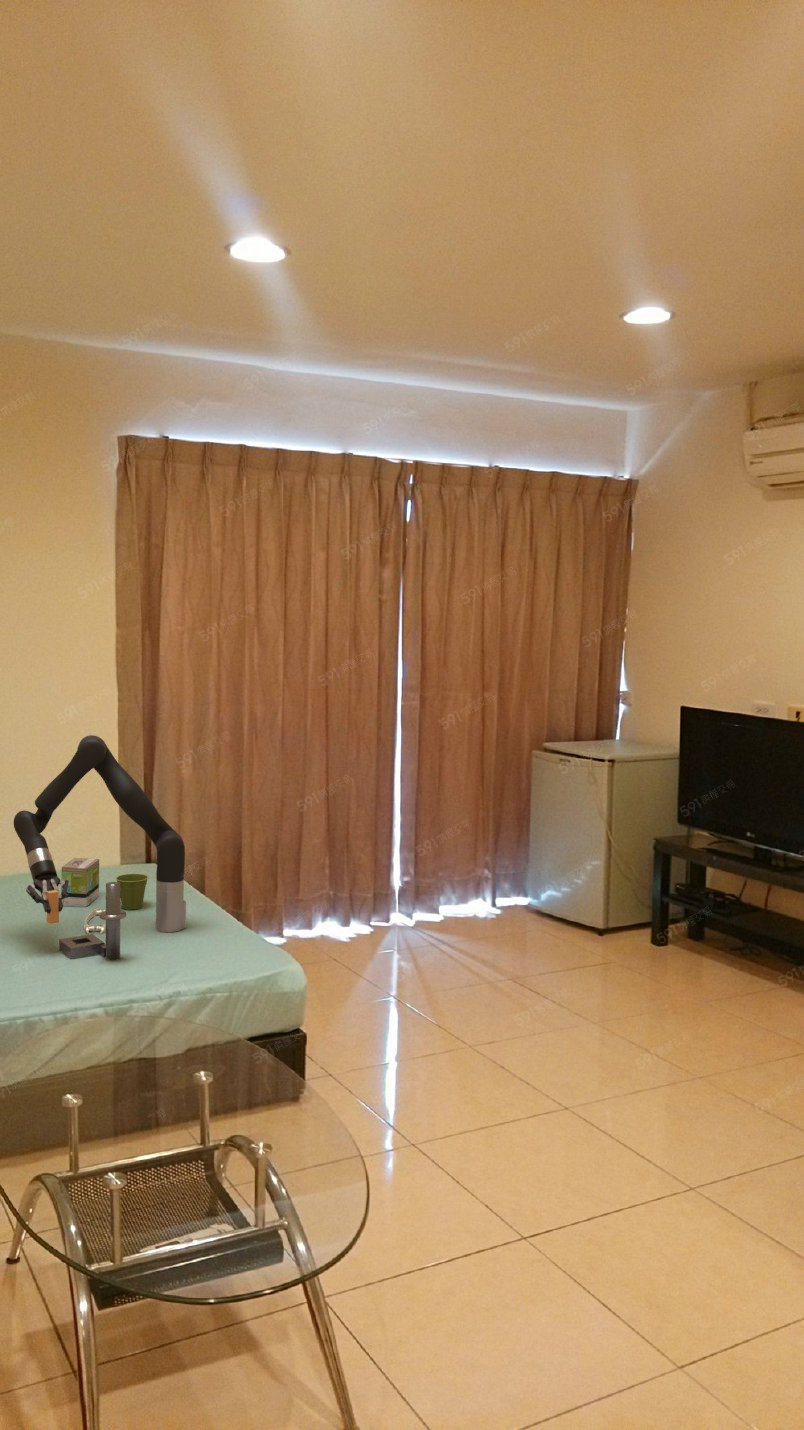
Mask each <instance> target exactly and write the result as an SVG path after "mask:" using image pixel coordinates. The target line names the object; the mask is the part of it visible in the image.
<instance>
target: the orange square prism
mask: <svg viewBox="0 0 804 1430" xmlns="http://www.w3.org/2000/svg"><path fill="white" fill-rule="evenodd" d="M59 893H60V891H59V892H58V891H57V890H52V891H46V894H47V900H48V902H49V904H50V908H51V912H50V913H49V914H47V913H46V922H47V924H49V925H53V924H59V923H60V912H59Z"/></svg>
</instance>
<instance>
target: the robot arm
mask: <svg viewBox="0 0 804 1430" xmlns="http://www.w3.org/2000/svg"><path fill="white" fill-rule="evenodd" d="M92 770H94V771H95V772H96V773H97V774H98V775H99V776H100V778H101V779H102V780H103V782H104V784H105V786H106V788H107V789H108V791H109V793H110V795H111V797H112V798H113V799H114V800H115V802H116V803H117V804H118V806H119V807H120V808H121V810H122V811H123V812H124V813H125V814H126V815H127V816H128V817H129V818H130V819H131V820H132V821H133V822H134V823H136V824H137V825H138V826H139V827H140V828H141V829H143V830H144V832H145V833H146V834H147V835H148V837H149V839H150V840H151V842H153V845H154V846H155V848H156V874H155V875H156V876H155V877H156V879H155V880H156V885H155V888H156V889H155V890H156V891H155V892H156V895H155V897H156V898H155V899H156V902H155V904H156V905H155V929H156V931H158V932H163V933H173V932H179V931H182V930H184V929H186V928H187V927H186V926H187V925H186V924H187V923H186V922H187V921H186V919H187V915H186V914H187V901H186V900H185V899H184V893H185V892H184V890H185V889H184V887H185V886H184V885H185V882H184V881H185V880H184V879H185V869H186V868H185V864H186V862H185V861H186V855H185V854H186V848H185V843H184V840H183V838H182V836H181V835H180V834H179V833H178V832H177V831H176V830H175V829H174V828H173V827H172V826H171V825H170V824H169V823H168V822H167V821H166V820H165V819H164V818H163V816H161V814H160V813H159V811H158V809H157V807H156V806H155V805H154V803H153V802H152V800H151V799H150V798H149V796H148V795H147V794H146V792H145V791H144V790H143V789H142V788H141V786H140V785H139V784H138V782H136V780H135V779H134V778H133V777H132V776H131V775H130V774H129V773H128V772H127V770H125V769H124V768H123V766H121V764H120V763H119V762H118V761H117V759H116V758H115V756H114V754H113V753H112V752H111V750H110V748H109V747H108V745H107V744H106V742H105V741H104V740H103V738H101V737H99V736H98V735H94V734H93V735H92V734H90V735H86V736H84V737H83V738H82V739H81V740H80V741H79V744H78V746H77V750H76V751H75V752H74V754H73V757H72V758H71V760H70V761H69V763H68V764H67V765H66V766H65V768H64V769H63V770H62V771H61V772H60V773H59V774H58V775H56V777H55V778H54V779H53V780H52V781H50V782H49V784H47V786H46V787H44V789H43V790H42V792H40V794H39V795H38V796H37V797H36V799H35V800H34V805H35V807H36V808H37V810H36V812H34V813H33V812H31V811H29V810H20V811H18V812H17V813H16V814H15V816H14V818H13V829H14V831H15V833H16V836H17V837H18V838H19V840H20V842H21V843H22V845H23V847H24V851H25V854H26V857H27V864H28V868H29V871H30V875H31V877H32V880H33V881H32V884H31V885H30V884H29V885H27V887H26V893H27V894H28V895H29V897H31V899H32V900H33V901H34V902H35V903H36V904H42V907H43V910H44V912H45V913H46V915H47V914H49V913H50V912H51V908H50V904H49V902H48V900H47V894H46V891H52V890H57V891H58V892H59V913H61V912H62V911H63V909H64V906H63V903H62V899H65V896H66V894H67V888H68V883H69V881H68V880H65V881H62V880H61V878H60V877H59V876H58V873H57V870H56V866H55V862H54V860H53V859H54V858H53V856H52V854H51V852H50V848H49V846H48V843H47V840H46V837H44V835H42V834H41V833H43V831H45V830H46V828H47V826H48V823H49V821H50V820H51V817H52V816H53V813H54V812H55V811H56V809H57V808H58V807H59V806H60V805H61V804H62V802H63V801H64V800H65V799H66V798H67V796H68V795H69V794H70V792H72V790H74V788H75V787H76V785H77V784H78V783H79V782H80V781H81V780H82V779H83V777H85V776H86V775H87V774H88V773H89V772H90V771H92ZM59 885H60V888H63V889H62V894H61V893H60V890H59V889H60V888H59ZM36 890H37V891H36ZM38 892H39V893H40V894H39V893H38Z"/></svg>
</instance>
